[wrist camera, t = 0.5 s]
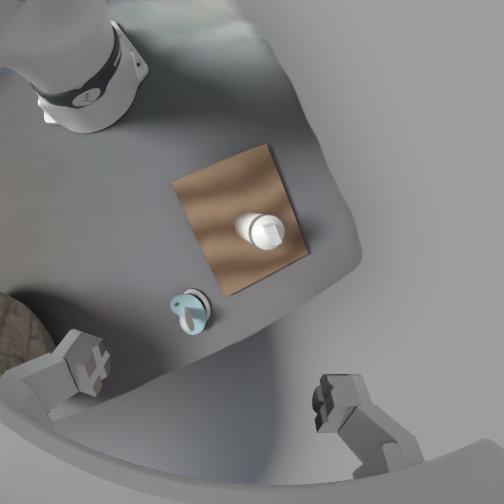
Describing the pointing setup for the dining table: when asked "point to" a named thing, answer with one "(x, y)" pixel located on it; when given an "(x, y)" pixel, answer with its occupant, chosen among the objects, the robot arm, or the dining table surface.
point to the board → (230, 207)
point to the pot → (20, 334)
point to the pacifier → (191, 311)
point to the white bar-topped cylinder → (260, 230)
